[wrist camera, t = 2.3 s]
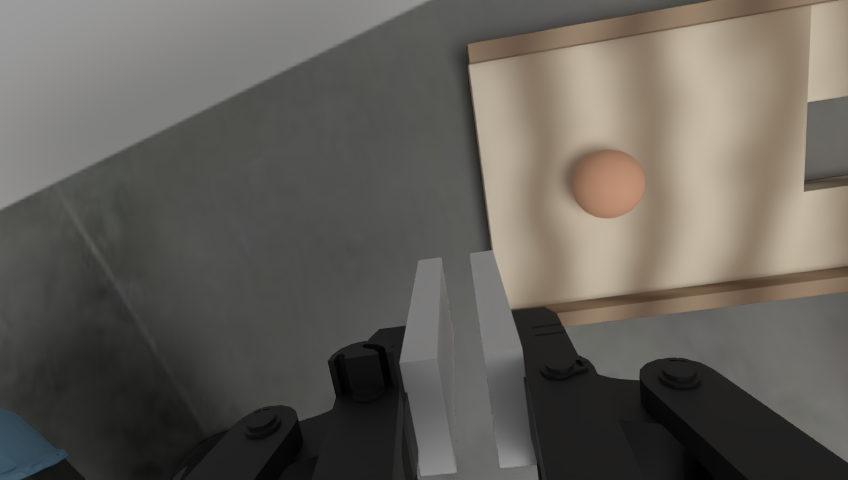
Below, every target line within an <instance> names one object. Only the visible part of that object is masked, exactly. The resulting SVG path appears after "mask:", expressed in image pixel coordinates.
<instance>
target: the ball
mask: <svg viewBox="0 0 848 480" xmlns="http://www.w3.org/2000/svg"><path fill="white" fill-rule="evenodd" d="M572 190H573V195H574V198H575V200H576V202H577V203H578V205H579V206H580V207H581V208H582V209H583V210H584V211H585V212H587V213H588V214H590V215H592V216H595V217H598V218H607V219H609V218H616V217H619V216H622V215H624V214H626V213H628V212H630V211H631V210H632V209H633V208H634V207H635V206H636V205H637V204H638V203H639V201H640V200H641V198H642V196H643V193H644V190H645V176H644V172H643V170H642V168H641V166H640V165H639V163H638V162H637V161H636V160H635V159H634V158H633V157H632V156H630V155H628V154H626V153H624V152H622V151H618V150H602V151H599V152H596V153H593V154H591V155H590V156H588V157H587V158H585V159H584V160H583V161H582V162H581V163H580V164H579V166H578V167H577V169H576V171H575V173H574V176H573V181H572Z"/></svg>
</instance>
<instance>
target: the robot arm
mask: <svg viewBox="0 0 848 480" xmlns="http://www.w3.org/2000/svg"><path fill="white" fill-rule="evenodd" d="M469 254H470V261H471V268H472V275H473V282H474V289H475V296H476V303H477V310H478V318H479V325H480V332H481V339H482V346H483V353H484V360H485V367H486V374H487V381H488V388H489V395H490V402H491V409H492V416H493V423H494V430H495V437H496V444H497V451H498V458H499V465H500V468H509V467H519V466H529V465H536V461H537V470H538V478H539V480H848V463H847V462H846V461H844V460H843V459H842V458H840V457H839V456H837V455H836V454H834V453H833V452H831V451H830V450H829V449H827V448H826V447H824V446H823V445H821V444H820V443H819V442H817V441H816V440H814V439H813V438H811V437H810V436H808V435H807V434H806V433H804V432H803V431H801V430H800V429H798V428H797V427H796V426H794V425H793V424H791V423H790V422H788V421H787V420H786V419H784V418H783V417H781V416H780V415H778V414H777V413H775V412H774V411H773V410H771V409H770V408H768V407H767V406H765V405H764V404H763V403H761V402H760V401H758V400H757V399H755V398H754V397H752V396H751V395H750V394H748V393H747V392H745V391H744V390H742V389H741V388H740V387H738V386H737V385H735V384H734V383H732V382H731V381H730V380H728V379H727V378H725V377H724V376H722V375H721V374H719V373H718V372H717V371H715V370H714V369H712V368H710V367H708V366H706V365H704V364H702V363H699V362H696V361H692V360H688V359H684V358H666V359H657V360H655V361H652V362H649V363H647V364H645V365H644V366H643V367H642V368H641V369H640V377H639V378H640V381H639V380H625V379H616V378H609V377H605V376H602V375H599V374H597V372H596V370H595V367H594V366H593V365H592V364H591V362H590V361H589V360H587V359H585V358H583V357H581V356H579V355H578V354H577V352H576V350H575V348H574V346H573V344H572V342H571V340H570V339H569V337H568V335H567V333H566V331H565V329H564V327H563V325H562V323H561V321H560V319H559V317H558V315H557V314H556V313H555V312H553V311H551V310H550V309H548V308H546V307H538V308H530V309H522V310H514V311H511V309H510V306H509V302H508V299H507V296H506V292H505V289H504V286H503V282H502V279H501V276H500V272H499V269H498V266H497V263H496V259H495V256H494V253H493V250H490V251H483V252H476V253H469ZM328 365H329V369H330V373H331V377H332V382H333V386H334V390H335V394H336V399H335V403H334V406H333V409H332V410H330V411H328V412H326V413H323V414H321V415H318V416H315V417H312V418H309V419H305V420H302V421H298V417H297V413H296V411H295V410H294V409H292V408H291V407H288V406H282V405H279V406H268V407H264V408H263V409H258V410H255V411H254V412H253V413H251V414H249V415H247V416H245V417H243V418H242V419H241V420H240V421H239V422H237V423H236V424H235V425H234V426H233V427H232V428H231V429H230V430H229V431H228V432H224V433H220V434H218V435H215V436H213V437H210V438H208V439H207V440H205V441H203V442H202V443H200V444H199V445H197V446H196V447H195V448H194V449H193V450H192V451H191V452H190V453H189V454H188V455H187V456H186V457H185V459H184V460H183V461H182V463H181V464H180V465H179V467H178V468H177V470H176V471H175V472H174V474H173V475H172V477H171V478H170V480H418V478H417V463H418V461H419V467H420V472H421V476H429V475H439V474H449V473H457V470H456V425H455V381H454V337H453V327H452V321H451V315H450V308H449V302H448V296H447V289H446V283H445V277H444V271H443V264H442V258H441V257H440V258H433V259H426V260H418V266H417V271H416V277H415V282H414V287H413V293H412V298H411V303H410V309H409V314H408V319H407V325H406V326H400V327H393V328H385V329H379V330H378V331H377V332H376V333H375V334H374V335H373V336H372V337H371V338H370V339H369V341H363V342H359V343H355V344H351V345H349V346H346V347H344V348H342V349H340V350H339V351H337V352H336V353H334V354H333V355H332V356H331V357H330V359H329V360H328ZM68 456H69V454H68V453H67V452H66V451H65V450H63V449H56V448H55V447H54V446H53V445H52V444H51V443H49V442H48V441H47V440H46V439H45V438H44V437H43V436H42V435H40V434H39V433H38V432H37V431H36V430H35V429H34V428H33V427H31V426H30V425H29V424H28V423H27V422H26V421H25V420H23V419H22V418H21V417H20V416H19V415H17V414H16V413H14V412H12V411H9V410H6V409H3V408H0V480H86V479H85V478H84V477H83V476H82V475H81V474H80V473H79V472H78V471H77V470H76V469H75V468H74V467H73V466H72V465H71V464H70V463H69V462H68V461H67V460H66V459H65V458H66V457H68ZM535 457H536V459H535Z"/></svg>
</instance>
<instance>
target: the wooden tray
mask: <svg viewBox="0 0 848 480" xmlns="http://www.w3.org/2000/svg"><path fill="white" fill-rule="evenodd" d="M466 49H467V57H468V64H469V65H468V67H467V69H468V76H469V84H470V91H471V99H472V107H473V114H474V122H475V130H476V137H477V145H478V153H479V160H480V168H481V175H482V183H483V191H484V198H485V206H486V214H487V221H488V229H489V236H490V244H491V250H493V253H494V256H495V259H496V263H497V266H498V269H499V272H500V276H501V279H502V282H503V286H504V289H505V292H506V296H507V299H508V302H509V306H510V309H511V311H514V310H522V309H530V308H538V307H546V308H548V309H550V310H551V311H553V312H555V313H556V314H557V315H558V317H559V319H560V321H561V323H562V325H563V327H566V326H574V325H582V324H590V323H598V322H606V321H614V320H623V319H631V318H639V317H647V316H655V315H663V314H671V313H679V312H687V311H695V310H703V309H711V308H719V307H727V306H735V305H743V304H751V303H759V302H767V301H776V300H784V299H792V298H800V297H808V296H816V295H824V294H832V293H840V292H848V175H846V176H839V177H832V178H825V179H818V180H811V181H804V171H805V147H806V124H807V102H812V101H818V100H825V99H831V98H837V97H844V96H848V0H713V1H707V2H702V3H696V4H691V5H685V6H679V7H674V8H668V9H662V10H657V11H651V12H646V13H640V14H634V15H629V16H623V17H617V18H612V19H606V20H600V21H595V22H589V23H584V24H578V25H572V26H567V27H561V28H555V29H550V30H544V31H539V32H533V33H527V34H522V35H516V36H510V37H505V38H499V39H493V40H488V41H482V42H477V43H471V44H467V47H466ZM602 150H618V151H622V152H624V153H626V154H628V155H630V156H632V157H633V158H634V159H635V160H636V161H637V162H638V163H639V165H640V166H641V168H642V170H643V172H644V176H645V190H644V193H643V196H642V198H641V200H640V201H639V203H638V204H637V205H636V206H635V207H634V208H633V209H632V210H631V211H630V212H628V213H626V214H624V215H622V216H619V217H616V218H609V219H607V218H598V217H595V216H592V215H590V214H588V213H587V212H585V211H584V210H583V209H582V208H581V207H580V206H579V205H578V203H577V202H576V200H575V198H574V195H573V190H572V181H573V176H574V173H575V171H576V169H577V167H578V166H579V164H580V163H581V162H582V161H583V160H584V159H585V158H587V157H588V156H590V155H591V154H593V153H596V152H599V151H602Z"/></svg>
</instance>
